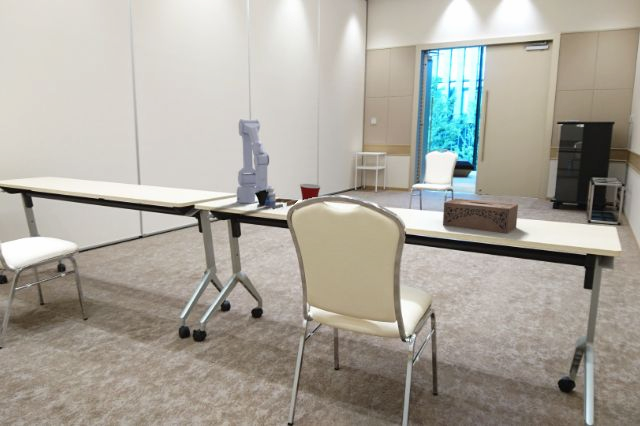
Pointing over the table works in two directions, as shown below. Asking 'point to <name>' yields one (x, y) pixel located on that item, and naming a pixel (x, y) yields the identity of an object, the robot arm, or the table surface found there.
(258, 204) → the checker cradle
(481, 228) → the tissue box cover
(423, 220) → the table surface
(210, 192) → the table surface
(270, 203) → the pill bottle
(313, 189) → the plastic cup
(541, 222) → the table surface
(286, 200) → the walnut trough
